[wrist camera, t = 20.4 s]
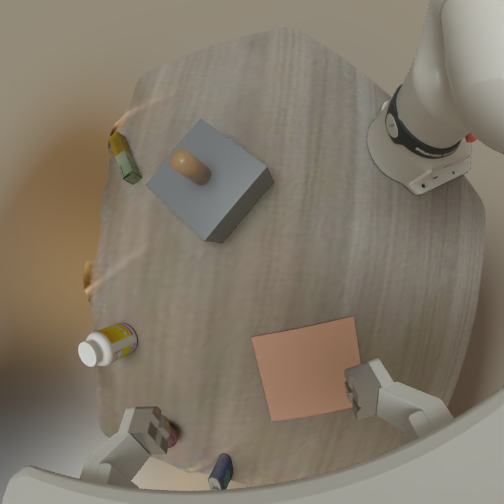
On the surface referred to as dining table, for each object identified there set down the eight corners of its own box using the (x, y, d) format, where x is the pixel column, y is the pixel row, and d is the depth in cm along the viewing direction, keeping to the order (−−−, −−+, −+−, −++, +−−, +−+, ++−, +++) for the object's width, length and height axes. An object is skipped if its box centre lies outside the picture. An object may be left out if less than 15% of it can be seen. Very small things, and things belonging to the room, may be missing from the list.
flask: (219, 452, 50) (204, 482, 39) (232, 454, 49) (219, 485, 39) (221, 478, 50) (207, 507, 39) (233, 480, 49) (221, 510, 39)
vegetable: (185, 439, 51) (167, 464, 42) (161, 435, 53) (141, 458, 43) (180, 418, 52) (159, 442, 42) (155, 414, 53) (133, 436, 43)
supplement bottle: (111, 322, 55) (71, 335, 42) (135, 322, 53) (95, 337, 41) (117, 351, 54) (79, 369, 42) (141, 353, 53) (104, 373, 41)
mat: (353, 315, 46) (353, 316, 45) (364, 403, 45) (365, 404, 44) (251, 336, 49) (251, 337, 49) (272, 420, 48) (272, 421, 48)
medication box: (143, 178, 54) (133, 172, 50) (133, 185, 54) (122, 180, 50) (126, 136, 55) (116, 130, 51) (117, 144, 55) (106, 138, 51)
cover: (274, 182, 49) (257, 146, 32) (222, 243, 50) (181, 237, 33) (217, 138, 51) (181, 95, 34) (169, 195, 52) (117, 173, 35)
